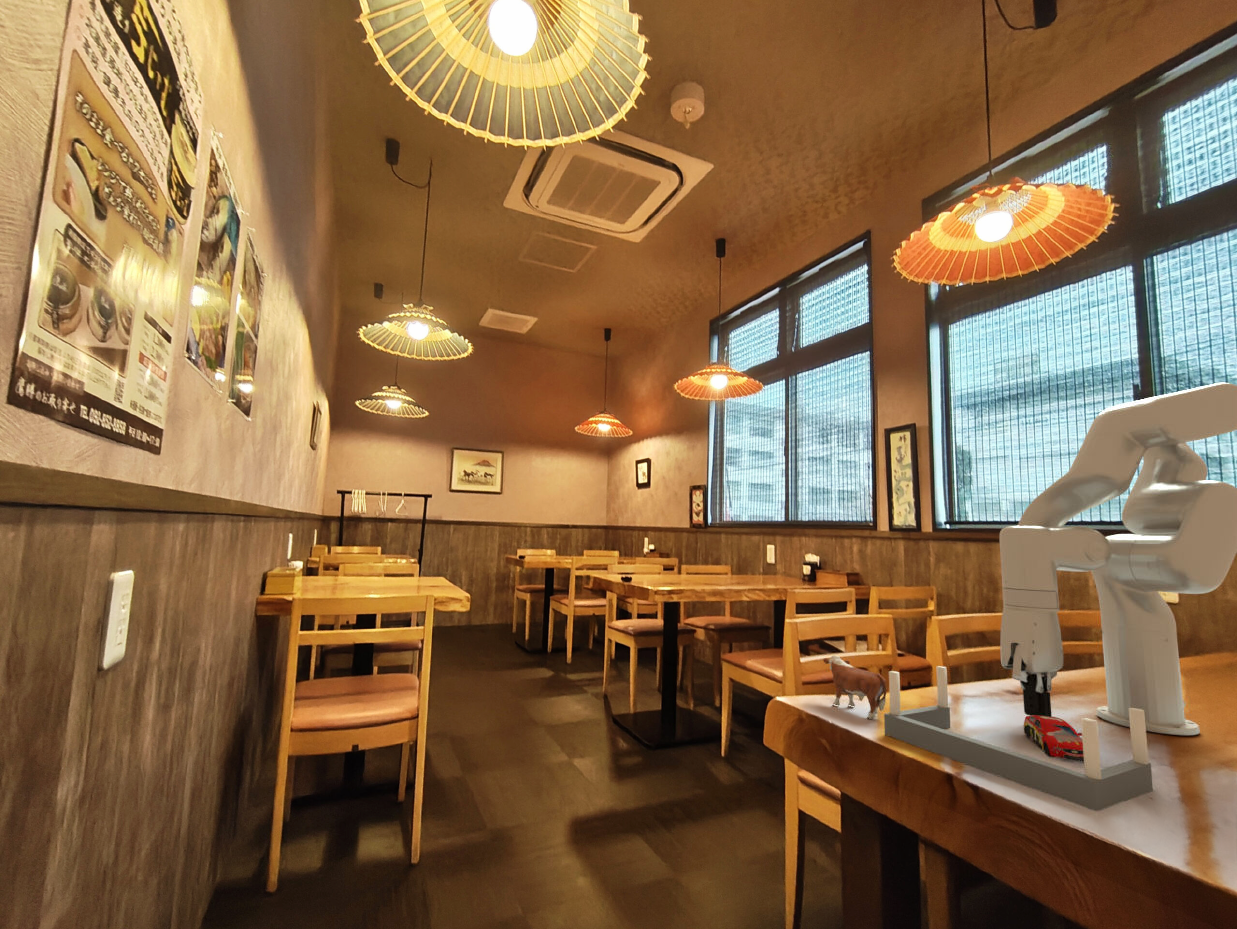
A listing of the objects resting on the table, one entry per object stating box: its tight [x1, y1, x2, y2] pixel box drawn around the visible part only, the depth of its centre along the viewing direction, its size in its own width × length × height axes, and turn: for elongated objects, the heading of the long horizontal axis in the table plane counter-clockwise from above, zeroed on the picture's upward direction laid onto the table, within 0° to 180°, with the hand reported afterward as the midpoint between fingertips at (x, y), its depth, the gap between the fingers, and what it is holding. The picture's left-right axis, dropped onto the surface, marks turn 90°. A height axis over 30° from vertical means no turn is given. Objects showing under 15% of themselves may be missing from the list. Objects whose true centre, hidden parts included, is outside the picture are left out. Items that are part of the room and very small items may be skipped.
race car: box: [1023, 715, 1084, 762], centre depth 81 cm, size 13×5×4 cm, turn 159°
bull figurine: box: [823, 654, 887, 720], centre depth 97 cm, size 4×13×8 cm, turn 18°
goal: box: [883, 665, 1154, 812], centre depth 76 cm, size 14×26×9 cm, turn 28°
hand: (1037, 715), depth 91 cm, fingers closed
